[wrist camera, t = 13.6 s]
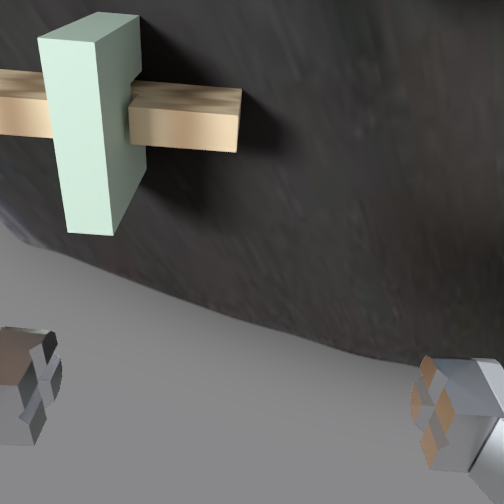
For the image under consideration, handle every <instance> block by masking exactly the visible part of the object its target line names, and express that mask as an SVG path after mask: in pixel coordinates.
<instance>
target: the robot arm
mask: <svg viewBox="0 0 504 504" xmlns="http://www.w3.org/2000/svg"><path fill="white" fill-rule="evenodd" d="M57 345H58V343H57V339H56V335H55V333H54V332H53V331H49V330H38V329H27V328H15V327H0V445H17V446H34V445H35V443H36V441H37V439H38V437H39V435H40V433H41V430H42V428H43V426H44V424H45V422H46V419H47V418H46V414H45V408H46V407H48V406H49V405H51V404H52V403H53V402H54V401H55V399H56V397H57V394H58V392H59V389H60V385H61V380H62V363H61V359H60V358H59V357H58V356H57V355H56V354H55V353H54V350H55V349H56V347H57ZM420 370H421V373H422V377H421V378H419V379H418V380H416V381H415V382H414V384H413V387H412V391H411V397H410V407H411V414H412V417H413V421H414V424H415V425H416V426H417V427H418V428H419V429H420V430H421V431H422V432H423V433H424V434H423V436H422V439H421V441H420V443H421V446H422V449H423V452H424V455H425V458H426V461H427V464H428V467H429V469H430V470H440V471H450V472H462V473H469V476H470V477H471V478H472V479H473V481H474V482H475V483H476V484H477V485H478V486H479V487H480V489H481V490H482V491H483V492H484V493H485V494H486V495H487V496H488V498H489V499H490V500H491V501H492V502H493V503H494V504H504V370H503V368H502V366H501V364H500V363H499V362H498V361H496V360H495V359H481V358H471V359H470V358H460V357H443V356H426V357H425V358H424V359H423V361H422V363H421V366H420Z"/></svg>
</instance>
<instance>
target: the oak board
mask: <svg viewBox="0 0 504 504" xmlns="http://www.w3.org/2000/svg"><path fill="white" fill-rule="evenodd" d="M130 84H131V100H132V103H131V104H130V105H129V106H128V112H129V127H130V142H131V144H134V145H147V146H160V147H173V148H185V149H198V150H211V151H224V152H236V151H237V142H238V133H239V125H240V112H241V96H242V89H237V88H224V87H212V86H200V85H187V84H175V83H163V82H151V81H138V80H133V81H132V82H131V83H130ZM0 134H5V135H18V136H31V137H44V138H53V134H52V128H51V121H50V115H49V109H48V102H47V96H46V89H45V83H44V77H43V73H40V72H28V71H15V70H3V69H0Z"/></svg>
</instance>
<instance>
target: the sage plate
mask: <svg viewBox="0 0 504 504" xmlns="http://www.w3.org/2000/svg"><path fill="white" fill-rule="evenodd" d="M38 45H39V51H40V58H41V64H42V70H43V77H44V83H45V89H46V96H47V102H48V109H49V115H50V121H51V128H52V134H53V141H54V147H55V153H56V160H57V166H58V172H59V179H60V185H61V192H62V198H63V204H64V211H65V217H66V224H67V230H68V232H71V233H84V234H98V235H112V236H113V235H114V233H115V231H116V229H117V227H118V225H119V223H120V221H121V219H122V217H123V215H124V213H125V211H126V209H127V207H128V205H129V203H130V201H131V199H132V197H133V195H134V193H135V191H136V189H137V187H138V185H139V183H140V181H141V179H142V177H143V175H144V173H145V171H146V169H147V166H146V145H134V144H131V142H130V127H129V112H128V106H129V105H130V104H131V103H132V100H131V84H130V83H131V82H132V81H133V80H134V79H135V78H136V77H137V76H138V74H139V73H140V72H141V71H142V62H141V41H140V20H139V15H129V14H117V13H105V12H96V13H94V14H92V15H89V16H87V17H85V18H82V19H80V20H78V21H75V22H73V23H71V24H68V25H66V26H64V27H61V28H59V29H57V30H54V31H52V32H50V33H47V34H45V35H43V36H40V37H38Z"/></svg>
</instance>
